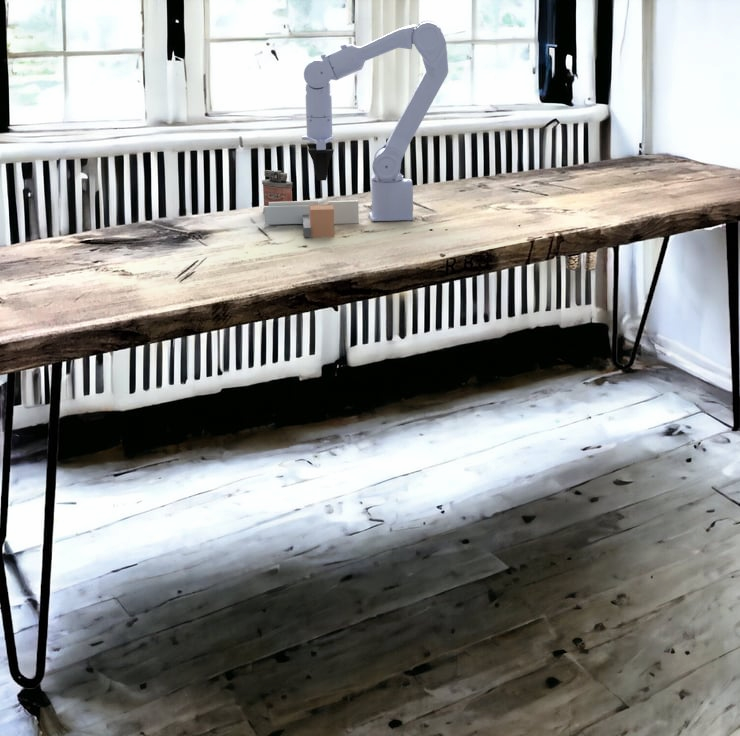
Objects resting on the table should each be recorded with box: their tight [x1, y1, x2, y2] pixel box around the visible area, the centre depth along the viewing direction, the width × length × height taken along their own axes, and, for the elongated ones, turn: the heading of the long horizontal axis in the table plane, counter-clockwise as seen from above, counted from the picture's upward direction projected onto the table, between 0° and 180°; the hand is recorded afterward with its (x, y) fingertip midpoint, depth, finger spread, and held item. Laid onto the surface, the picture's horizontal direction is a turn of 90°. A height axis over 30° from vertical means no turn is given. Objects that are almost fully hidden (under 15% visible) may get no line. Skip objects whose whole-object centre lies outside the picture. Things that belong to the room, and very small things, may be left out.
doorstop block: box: [310, 204, 335, 238], centre depth 222 cm, size 5×4×6 cm
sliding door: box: [263, 205, 312, 238], centre depth 226 cm, size 10×14×4 cm
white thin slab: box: [269, 199, 360, 225], centre depth 232 cm, size 20×2×5 cm, turn 95°
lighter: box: [261, 169, 293, 213], centre depth 241 cm, size 8×3×10 cm, turn 58°
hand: (320, 177), depth 235 cm, fingers open, 7 cm apart
